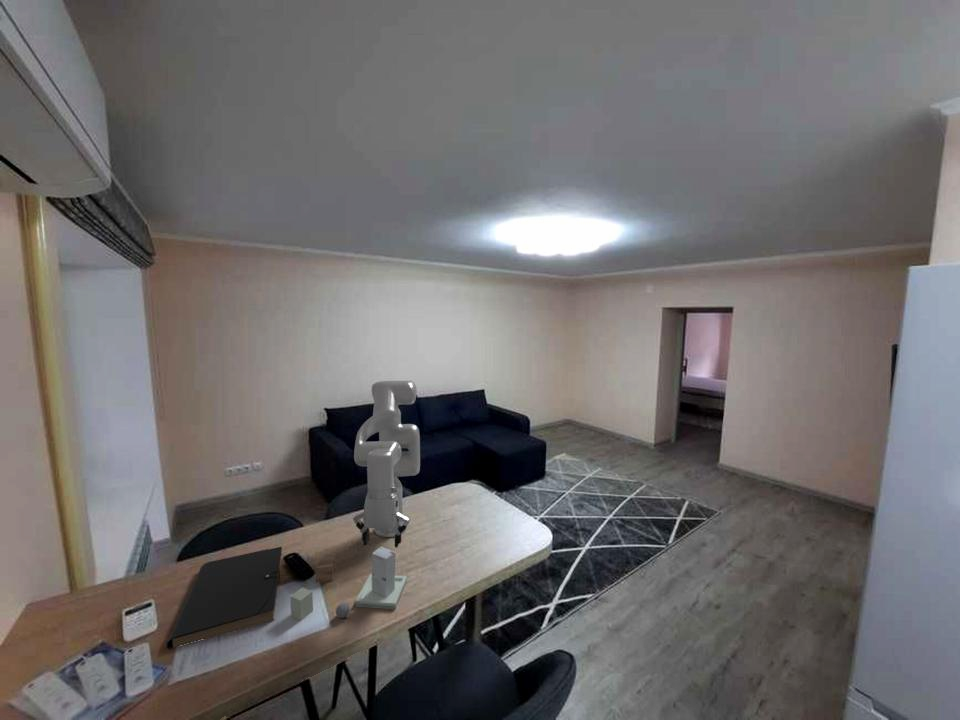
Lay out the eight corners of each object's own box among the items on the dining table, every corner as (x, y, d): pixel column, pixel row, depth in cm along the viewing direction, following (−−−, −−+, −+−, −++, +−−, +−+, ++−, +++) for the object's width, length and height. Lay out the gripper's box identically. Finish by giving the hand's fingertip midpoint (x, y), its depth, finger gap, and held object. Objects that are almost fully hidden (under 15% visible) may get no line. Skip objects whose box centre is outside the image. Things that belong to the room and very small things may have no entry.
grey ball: (339, 611, 109) (339, 599, 108) (351, 611, 108) (351, 600, 108) (333, 620, 105) (333, 608, 105) (346, 621, 105) (346, 609, 105)
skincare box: (371, 590, 116) (370, 553, 115) (381, 582, 120) (380, 545, 118) (386, 598, 113) (385, 559, 112) (396, 588, 117) (395, 551, 116)
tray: (370, 579, 123) (370, 573, 122) (406, 581, 122) (406, 576, 121) (355, 606, 111) (355, 600, 110) (395, 609, 110) (395, 603, 110)
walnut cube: (319, 572, 126) (319, 558, 125) (335, 571, 127) (335, 556, 126) (316, 582, 121) (315, 567, 120) (332, 580, 122) (332, 566, 121)
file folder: (274, 608, 105) (165, 638, 95) (275, 622, 105) (167, 653, 95) (282, 545, 135) (200, 562, 125) (283, 556, 135) (201, 574, 125)
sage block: (303, 606, 110) (302, 587, 110) (313, 611, 109) (312, 591, 108) (291, 616, 107) (290, 596, 106) (301, 620, 105) (300, 600, 105)
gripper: (412, 486, 116) (412, 538, 119) (357, 483, 118) (359, 535, 120) (405, 498, 109) (406, 553, 111) (347, 495, 110) (349, 549, 112)
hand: (381, 543), depth 115 cm, fingers open, 9 cm apart
